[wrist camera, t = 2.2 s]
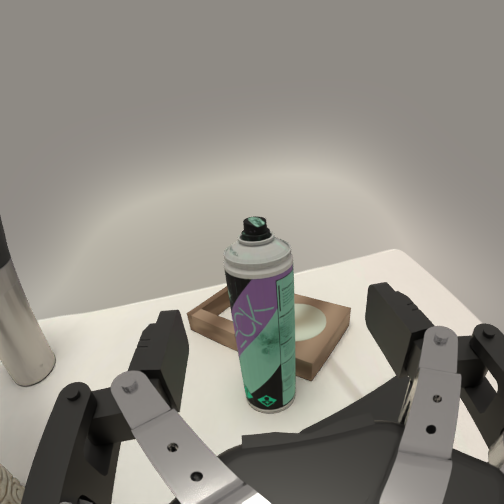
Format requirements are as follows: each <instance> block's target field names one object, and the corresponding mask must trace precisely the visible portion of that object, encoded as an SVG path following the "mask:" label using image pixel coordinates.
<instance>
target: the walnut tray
mask: <svg viewBox="0 0 504 504" xmlns="http://www.w3.org/2000/svg"><path fill="white" fill-rule="evenodd" d="M294 304H295V375H296V376H299V377H302V378H304V379H307V380H310V381H312V380H313V378H314V377H315V376H316V374H317V373H318V371H319V370H320V368H321V367H322V366H323V364H324V363H325V361H326V360H327V358H328V357H329V355H330V354H331V352H332V351H333V349H334V348H335V346H336V345H337V343H338V342H339V340H340V339H341V337H342V335H343V334H344V332H345V331H346V329H347V328H348V326H349V321H350V312H351V308H349V307H345V306H341V305H337V304H333V303H329V302H325V301H321V300H317V299H313V298H309V297H305V296H301V295H298V294H294ZM229 306H230V301H229V294H228V288H227V286H226V287H225V288H223V289H222V290H221V291H219V292H218V293H216V294H215V295H213V296H212V297H210V298H209V299H207V300H206V301H204V302H203V303H201V304H200V305H199V306H197V307H196V308H194V309H193V310H191V311H190V312H188V313H187V316H188V320H189V324H190V327H191V330H193V331H195V332H197V333H199V334H201V335H203V336H205V337H208V338H210V339H212V340H214V341H216V342H218V343H220V344H222V345H225V346H227V347H229V348H231V349H233V350H236V351H238V348H237V343H236V337H235V331H234V325H233V321H230V320H227V319H225V318H222V317H220V316H217V315H219V314H220V313H221V312H223V311H224V310H225V309H227V308H228V307H229Z"/></svg>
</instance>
